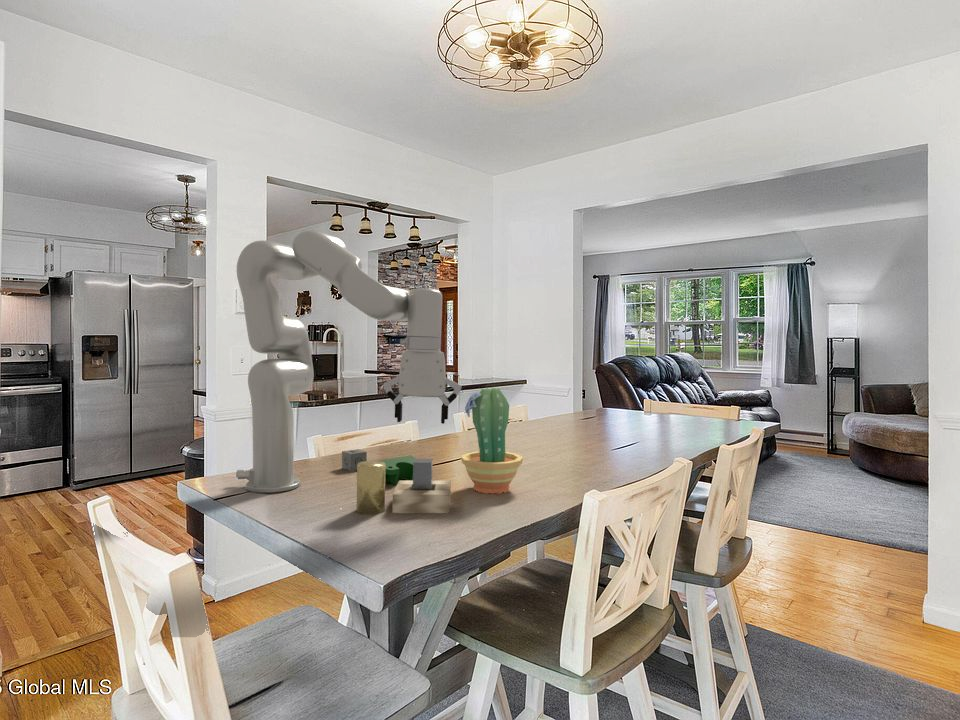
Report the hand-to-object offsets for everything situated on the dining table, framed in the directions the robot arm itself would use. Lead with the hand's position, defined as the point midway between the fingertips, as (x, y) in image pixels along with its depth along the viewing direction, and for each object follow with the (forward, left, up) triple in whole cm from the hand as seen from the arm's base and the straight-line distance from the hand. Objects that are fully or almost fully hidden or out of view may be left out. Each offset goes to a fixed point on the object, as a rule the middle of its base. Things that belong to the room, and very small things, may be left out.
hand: (421, 421), depth 128 cm
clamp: (-7, +21, -19) cm, 29 cm away
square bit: (0, 0, -19) cm, 19 cm away
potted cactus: (+17, +14, -19) cm, 29 cm away
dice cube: (-21, +35, -19) cm, 45 cm away
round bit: (-10, -4, -19) cm, 22 cm away
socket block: (+1, 0, -19) cm, 19 cm away
